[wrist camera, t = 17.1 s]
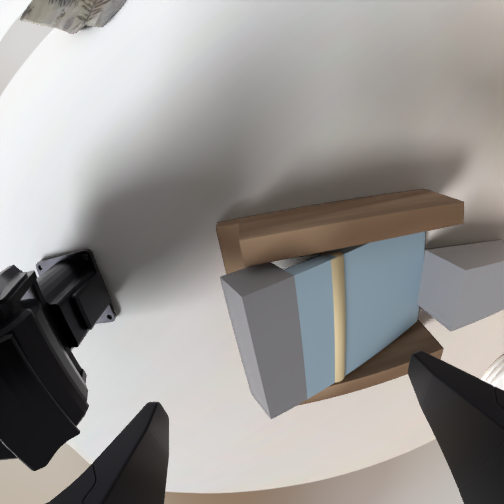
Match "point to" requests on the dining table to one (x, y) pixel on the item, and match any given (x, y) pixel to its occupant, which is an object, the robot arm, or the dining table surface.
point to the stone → (463, 283)
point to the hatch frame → (340, 236)
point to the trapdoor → (321, 316)
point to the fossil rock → (71, 13)
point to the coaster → (495, 374)
